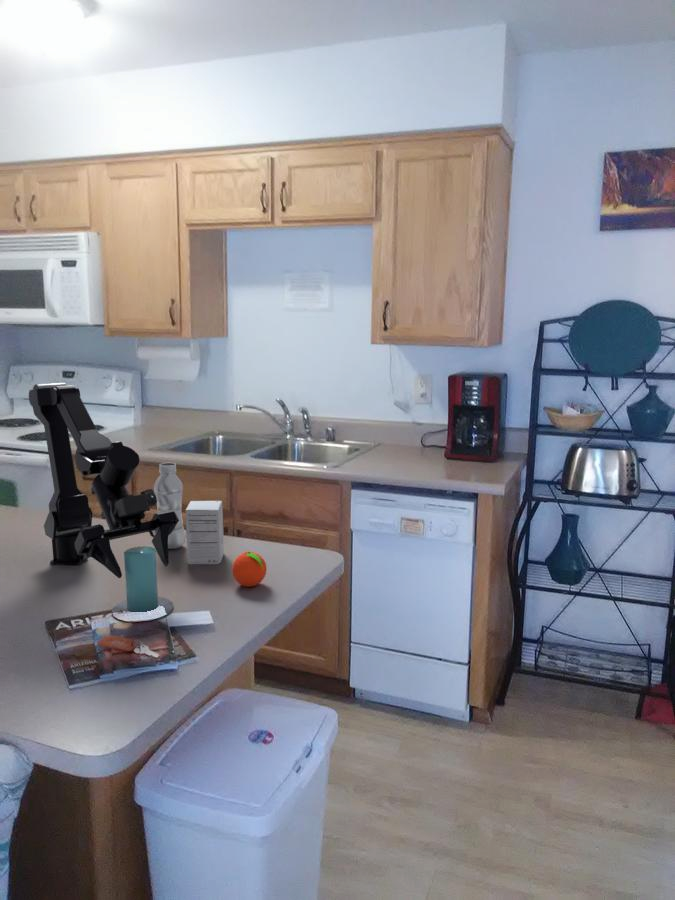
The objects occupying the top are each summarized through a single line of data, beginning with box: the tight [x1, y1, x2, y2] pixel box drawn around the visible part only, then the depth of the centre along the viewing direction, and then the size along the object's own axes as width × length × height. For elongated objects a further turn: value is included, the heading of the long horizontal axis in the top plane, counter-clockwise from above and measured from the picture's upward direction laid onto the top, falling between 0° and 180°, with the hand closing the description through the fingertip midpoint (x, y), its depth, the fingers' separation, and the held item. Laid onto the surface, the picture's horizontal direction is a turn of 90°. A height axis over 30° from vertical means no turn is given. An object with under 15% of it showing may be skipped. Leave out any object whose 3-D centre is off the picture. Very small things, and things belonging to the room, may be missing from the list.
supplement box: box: [185, 500, 225, 565], centre depth 159 cm, size 7×7×13 cm
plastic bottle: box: [153, 462, 187, 550], centre depth 166 cm, size 6×7×20 cm
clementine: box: [231, 551, 268, 588], centre depth 144 cm, size 8×7×7 cm
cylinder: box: [123, 546, 159, 612], centre depth 132 cm, size 6×6×11 cm
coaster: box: [111, 596, 174, 615], centre depth 133 cm, size 11×11×1 cm
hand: (144, 570), depth 130 cm, fingers open, 9 cm apart
